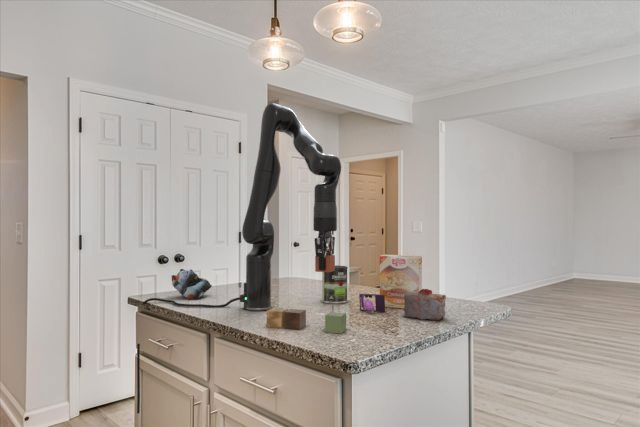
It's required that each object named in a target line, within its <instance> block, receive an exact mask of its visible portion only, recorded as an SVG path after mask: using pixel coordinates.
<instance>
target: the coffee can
mask: <svg viewBox="0 0 640 427" xmlns="http://www.w3.org/2000/svg"><path fill="white" fill-rule="evenodd" d="M348 268H349V267H348V266H347V265H335V271H332V272H321V274H322V279H321V280H322V281H321V282H322V285H321V286H322V288H321V290H322V291H321V293H322V295H321V296H322V298H321V299H322V300H321V302H322V303H326V304H331V305H335V304H345V303H348Z"/></svg>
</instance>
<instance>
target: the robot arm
mask: <svg viewBox="0 0 640 427" xmlns="http://www.w3.org/2000/svg"><path fill="white" fill-rule="evenodd" d="M276 132H278V133H284V134H286V135H287V136H289V137H290V138H291V139H292V145H293V148H294V149H295V151H296V152H297V153H298V154H299V155H300V156H301V158H303V159H304V162H305V164H306V166H307V169H308V170H309V171H310V172H311V173H312V174H313V175H315V176H319V177H324V179H323V181H322V182H321V183H317V184H315V186H314V190H313V194H314V195H313V197H314V198H313V220H312V221H313V231H314V232H318V235H317V237H315V238H314V250H315V256H316V257H318V258H319V270H323V271H324V270H326V259H325V258H326V255H335V245H336V244H335V243H336V237H335V236H333V235H332V234H333V232H336V231H337V230H338V208H337V206H338V205H337V187H338V184H339V180H340V176H341V173H342V162H341V160H340V158H339V157H338V155H335V154H329V153H328V154H327V153H324V149H323V147H322V145H321V144H320V143H319V142H318V141H317V140H316V139H315V138H314V137H313V136H312V135H311V134H310V133H309V132H308V131H307V129H305V127H304V124H302V123H301V121H300V119H299V118H298V116H297V114H296V113H295V112H294V110H292V109H291V108H289V107H287V106H284V105H280V104H277V103H275V102H270V103H268V104H267V105H266V106H265V107H264V110H263V112H262V116H261V126H260V135H259V145H258V146H259V147H258V153H257V159H256V163H255V167H254V168H255V169H254V173H253V179H252V180H253V181H252V186H251V192H250V196H249V201H248V206H247V210H246V213H245V216H244V220H243V223H242V229H241V234H242V238H243V240H244V241H245V243H246V244H249V245H252V248H251V250H250V251H249V252H248V253H247V254H246V256H245V282H244V283H243V293H242V294H240V295H239V297H235V298H233V299H230V300H229V301H227V302H226V303H224V304H216V305H215V304H214V305H213V304H202V303H201V304H199V303H197V304H194V303H180V302H176V301H175V300H173V299H172V300H171V299H166V298H165V299H164V298H159V297H151V298H147V299H146V300H144V301H143V302H142V304H147V303H149V302H151V301H157V302H163V303H172V304H174V305H175V306H179V307H188V308H189V307H192V308H196V307H197V308H212V309H213V308H224V307H228V306H229V305H230V304H231V303H233V302H236V301H239V302H240V303H243V310H247V311H253V312H255V311H256V312H261V311H267V310H270V309H272V257H273V255H274V247H275V229H274V226H273V223H272V222H271V221H270V220H269V219H266V218H265V214H266V210H267V208H268V205H269V203H270V201H271V200H272V198H273V197H274V195H275V193H276V191H277V189H278V186H279V182H280V176H281V171H282V170H281V169H282V168H281V162H280V159H279V156H278V152H277V149H276ZM140 350H141V344H140V343H137V346H136V352H137V353H136V356H137V357H136V358H137V359H136V376H137V377H136V379H137V380H136V383H137V384H136V386H137V387H136V388H137V389H136V390H137V396H136V398H137V400H136V402H137V403H136V414H137V415H138V414H140V412H141V411H140V410H141V409H140V408H141V372H140V370H141V369H140V368H141V366H140V364H141V362H140V361H141V360H140V356H141V351H140Z"/></svg>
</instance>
